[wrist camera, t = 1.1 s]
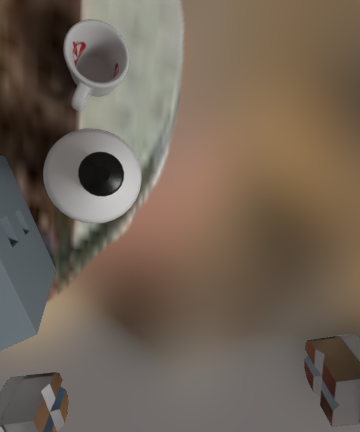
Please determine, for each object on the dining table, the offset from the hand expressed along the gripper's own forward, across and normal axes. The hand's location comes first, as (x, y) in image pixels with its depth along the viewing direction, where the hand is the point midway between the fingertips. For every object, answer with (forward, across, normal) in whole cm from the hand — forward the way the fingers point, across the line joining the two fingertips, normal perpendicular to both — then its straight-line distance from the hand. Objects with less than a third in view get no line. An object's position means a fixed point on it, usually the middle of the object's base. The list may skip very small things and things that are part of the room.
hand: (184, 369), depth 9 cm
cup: (+41, +10, -13) cm, 44 cm away
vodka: (+37, +13, 0) cm, 39 cm away
